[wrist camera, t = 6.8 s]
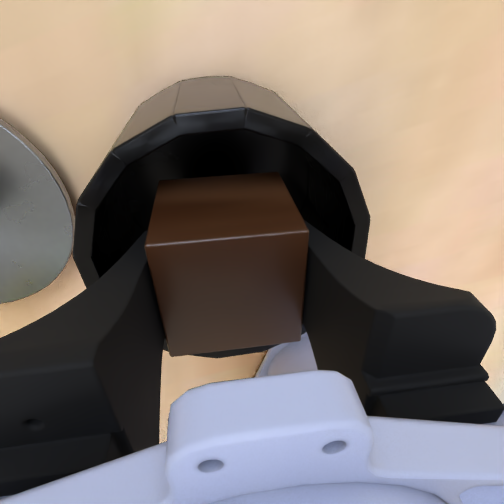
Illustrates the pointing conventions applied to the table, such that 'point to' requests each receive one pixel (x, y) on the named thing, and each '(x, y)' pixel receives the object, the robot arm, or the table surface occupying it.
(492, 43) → the table surface
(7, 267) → the lid
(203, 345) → the block
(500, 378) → the table surface
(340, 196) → the black round pot
